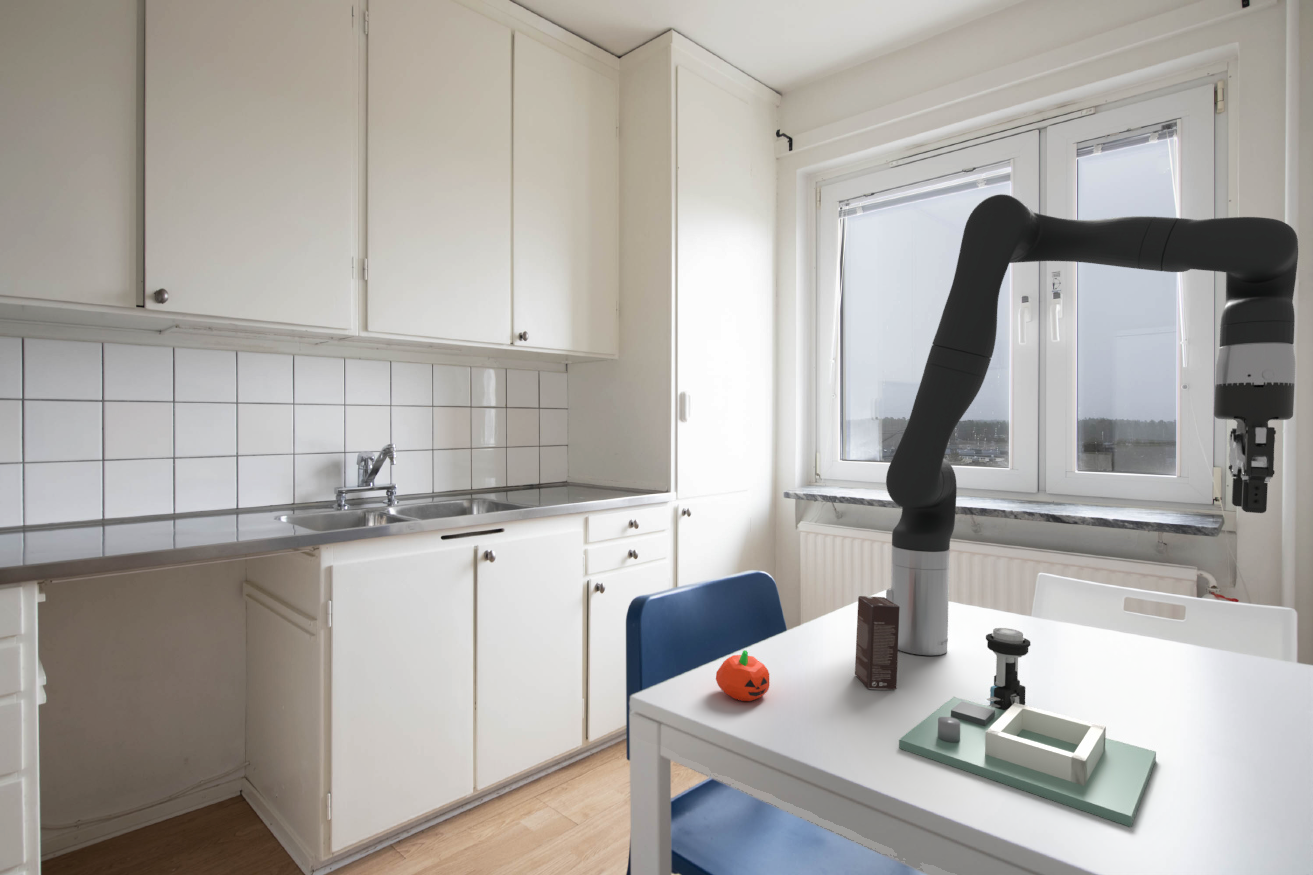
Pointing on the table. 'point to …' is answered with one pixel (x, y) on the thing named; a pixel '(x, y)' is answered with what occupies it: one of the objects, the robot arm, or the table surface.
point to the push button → (1007, 667)
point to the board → (1038, 755)
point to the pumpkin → (743, 677)
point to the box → (877, 642)
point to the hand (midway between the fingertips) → (1248, 509)
